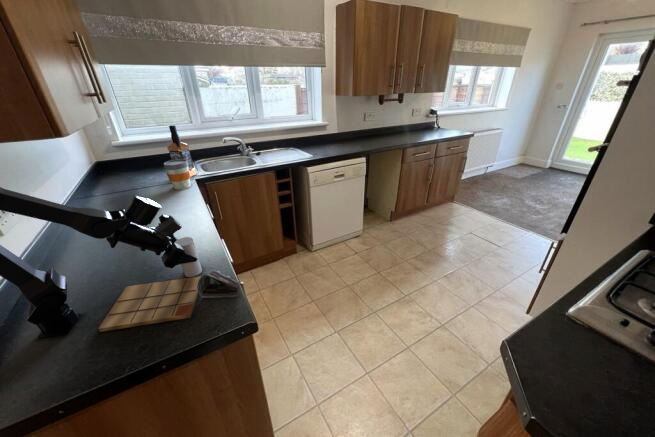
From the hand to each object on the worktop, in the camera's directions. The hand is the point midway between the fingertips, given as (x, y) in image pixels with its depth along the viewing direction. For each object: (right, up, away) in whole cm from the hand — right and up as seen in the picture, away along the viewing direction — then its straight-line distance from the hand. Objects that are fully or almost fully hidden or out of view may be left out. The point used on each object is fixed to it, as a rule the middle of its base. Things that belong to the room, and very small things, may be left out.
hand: (192, 253), depth 87 cm
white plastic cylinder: (-1, -6, +2) cm, 7 cm away
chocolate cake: (+12, -10, -5) cm, 16 cm away
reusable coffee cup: (-43, +30, +74) cm, 91 cm away
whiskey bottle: (-50, +40, +92) cm, 112 cm away
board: (-5, -13, -10) cm, 17 cm away
